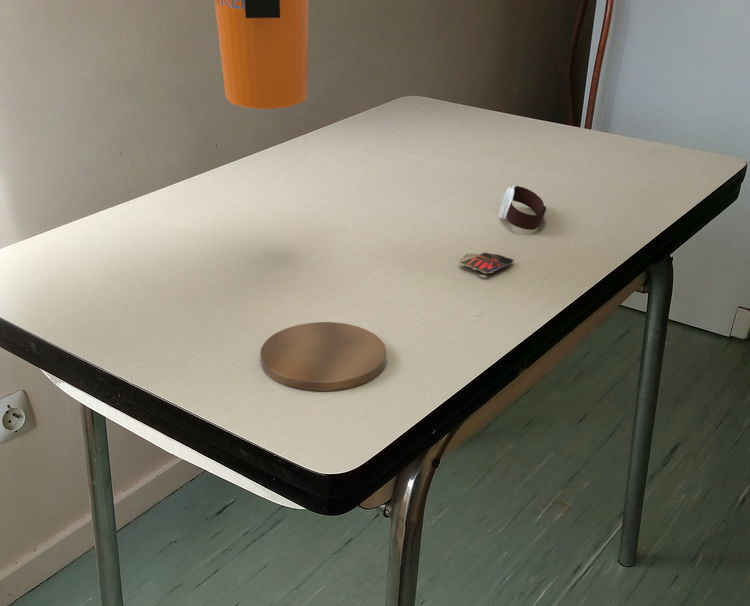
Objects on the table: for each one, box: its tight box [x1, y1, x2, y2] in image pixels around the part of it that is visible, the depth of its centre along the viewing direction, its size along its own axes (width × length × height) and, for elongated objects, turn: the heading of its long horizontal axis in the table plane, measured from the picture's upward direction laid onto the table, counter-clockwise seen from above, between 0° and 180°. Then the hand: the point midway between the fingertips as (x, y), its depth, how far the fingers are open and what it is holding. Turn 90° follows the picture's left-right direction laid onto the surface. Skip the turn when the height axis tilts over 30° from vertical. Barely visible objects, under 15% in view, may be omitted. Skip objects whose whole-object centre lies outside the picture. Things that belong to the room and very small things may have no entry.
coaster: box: [260, 321, 387, 392], centre depth 80 cm, size 10×10×1 cm
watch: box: [498, 185, 547, 231], centre depth 103 cm, size 8×5×4 cm, turn 177°
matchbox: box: [457, 251, 515, 280], centre depth 95 cm, size 5×5×1 cm
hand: (261, 4), depth 83 cm, fingers closed on shaker bottle, 9 cm apart
